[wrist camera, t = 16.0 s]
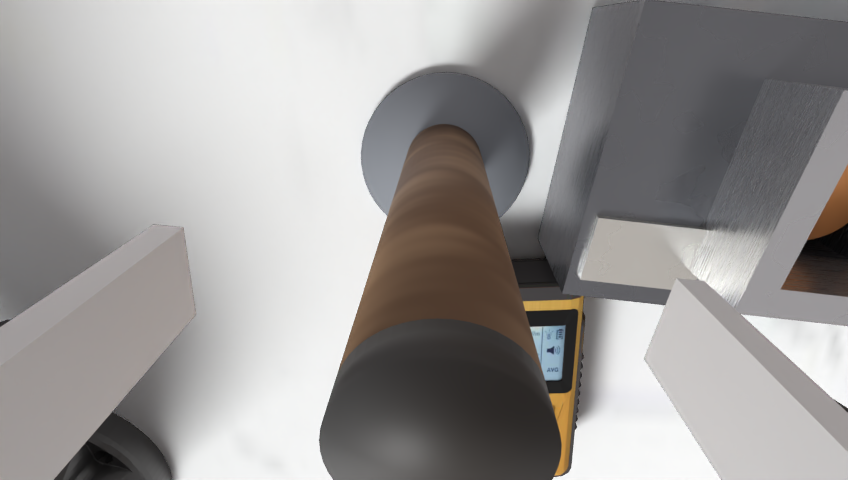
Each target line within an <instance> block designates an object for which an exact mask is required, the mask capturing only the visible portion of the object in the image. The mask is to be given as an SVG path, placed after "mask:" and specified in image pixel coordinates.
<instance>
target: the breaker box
mask: <svg viewBox="0 0 848 480" xmlns="http://www.w3.org/2000/svg"><path fill="white" fill-rule="evenodd" d="M847 165H848V22H842V21H833V20H824V19H815V18H806V17H797V16H789V15H780V14H771V13H762V12H753V11H744V10H735V9H727V8H718V7H709V6H700V5H691V4H682V3H673V2H665V1H656V0H638V1H632V2H626V3H619V4H613V5H607V6H601V7H594V8H592V13H591V17H590V21H589V25H588V29H587V34H586V38H585V42H584V46H583V50H582V55H581V59H580V63H579V67H578V71H577V76H576V80H575V84H574V88H573V92H572V97H571V101H570V105H569V109H568V113H567V118H566V122H565V126H564V130H563V134H562V139H561V143H560V147H559V151H558V155H557V160H556V164H555V168H554V172H553V176H552V180H551V185H550V189H549V193H548V197H547V201H546V206H545V210H544V214H543V218H542V222H541V227H540V231H539V235H538V240H539V242H540V244H541V247H542V249H543V251H544V254H545V256H546V258H547V260H548V263H549V265H550V267H551V269H552V272H553V274H554V276H555V278H556V281H557V283H558V285H559V288H560V290H561V292H562V294H570V295H579V296H588V297H597V298H606V299H615V300H624V301H633V302H642V303H651V304H660V305H666V302H667V300H668V297H669V295H670V292H671V290H672V288H673V285H674V283H675V280H676V278H680V279H690V280H699V281H705V282H706V283H707V284H708V285H709V286H710V287H711V288H713V289H714V290H715V291H716V292H717V293H718V294H719V295H720V296H721V297H722V298H723V299H725V300H726V301H727V302H728V303H729V304H730V305H731V306H732V307H733V308H734V309H735V310H737V311H738V312H739V313H740V314H744V315H753V316H762V317H771V318H780V319H789V320H798V321H807V322H816V323H825V324H834V325H843V326H848V223H847V224H846V225H844V226H843V227H841V228H839V229H838V230H836V231H834V232H832V233H830V234H828V235H825V236H822V237H819V238H816V239H811V240H807V239H808V237H809V235H810V233H811V232H812V230H813V228H814V226H815V224H816V222H817V220H818V219H819V217H820V215H821V213H822V211H823V209H824V207H825V206H826V204H827V202H828V200H829V198H830V196H831V194H832V193H833V191H834V189H835V187H836V185H837V183H838V181H839V179H840V178H841V176H842V174H843V172H844V170H845V168H846V166H847Z"/></svg>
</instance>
